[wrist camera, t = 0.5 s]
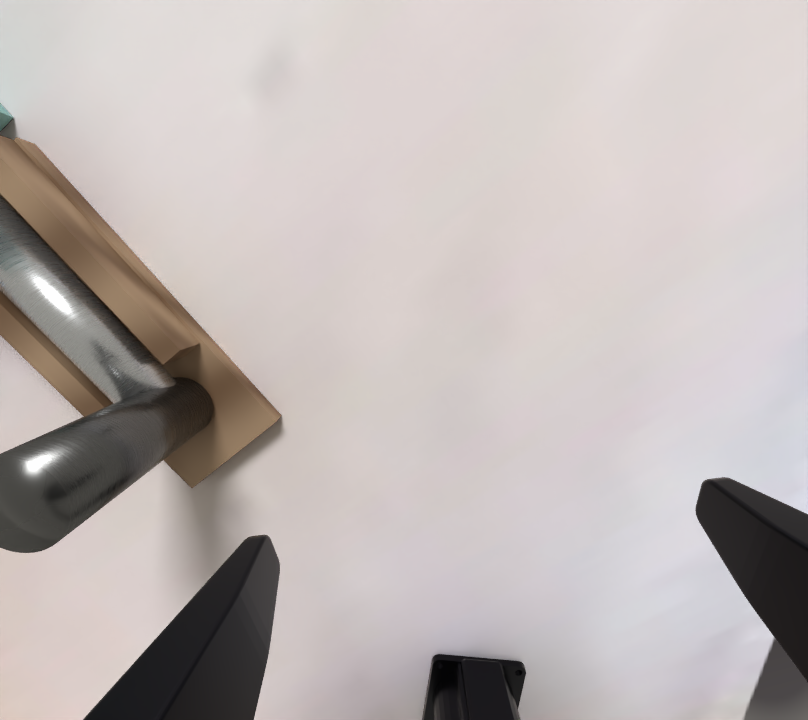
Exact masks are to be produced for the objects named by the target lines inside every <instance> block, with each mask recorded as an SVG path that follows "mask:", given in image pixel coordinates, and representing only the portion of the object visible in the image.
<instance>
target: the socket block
mask: <svg viewBox="0 0 808 720" xmlns="http://www.w3.org/2000/svg"><path fill="white" fill-rule="evenodd" d="M12 118H13V117H12V115H11V114H10V113H9V112H8V111H7V110H6V109H5V108H4V107H3V106H2V104H1V103H0V131H1V130H2V129H3V128H4V127H5V126H6V125H7V124H8V123H9V121H10V120H11V119H12Z"/></svg>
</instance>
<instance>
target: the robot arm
mask: <svg viewBox="0 0 808 720" xmlns="http://www.w3.org/2000/svg"><path fill="white" fill-rule="evenodd" d="M696 515H697V518H698V520H699V522H700V524H701V526H702V527H703V529H704V531H705V532H706V534H707V535H708V537H709V539H710V540H711V542H712V544H713V545H714V547H715V549H716V550H717V552H718V554H719V555H720V557H721V558H722V560H723V562H724V563H725V565H726V567H727V568H728V570H729V572H730V573H731V575H732V576H733V578H734V580H735V581H736V583H737V585H738V586H739V588H740V589H741V591H742V592H743V594H744V595H745V597H746V598H747V600H748V601H749V603H750V604H751V605H752V607H753V608H754V610H755V611H756V612H757V614H758V615H759V617H760V618H761V619H762V621H763V622H764V623H765V625H766V626H767V627H768V629H769V630H770V632H771V633H772V634H773V636H774V637H775V638H776V640H777V641H778V642H779V644H780V645H781V646H782V648H783V649H784V651H785V652H786V653H787V655H788V656H789V657H790V659H791V660H792V662H793V663H794V664H795V665H796V667H797V668H798V670H799V671H800V672H801V674H802V675H803V676H804V678H805V679H806V681H807V682H808V514H806V513H804V512H802V511H799V510H797V509H795V508H793V507H791V506H789V505H786V504H784V503H782V502H780V501H778V500H776V499H773V498H771V497H769V496H767V495H765V494H763V493H761V492H758V491H756V490H754V489H752V488H750V487H748V486H745V485H743V484H741V483H739V482H737V481H735V480H732V479H730V478H725V477H722V478H713V479H707V480H705V481H704V482H703V483H702V485H701V489H700V493H699V496H698V500H697V504H696ZM279 574H280V564H279V559H278V557H277V554H276V552H275V549H274V547H273V544H272V542H271V539H270V537H269V536H267V535H258V536H251V537H248V538H247V539H245V540H244V541H243V542H242V544H241V545H240V546H239V547H238V548H237V549H236V550H235V551H234V552H233V554H232V555H231V556H230V557H229V558H228V559H227V560H226V561H225V562H224V564H223V565H222V566H221V567H220V568H219V569H218V570H217V571H216V572H215V574H214V575H213V576H212V577H211V578H210V579H209V580H208V581H207V582H206V584H205V585H204V586H203V587H202V588H201V589H200V590H199V591H198V592H197V594H196V595H195V596H194V597H193V598H192V599H191V600H190V601H189V602H188V604H187V605H186V606H185V607H184V608H183V609H182V610H181V611H180V612H179V614H178V615H177V616H176V617H175V618H174V619H173V620H172V621H171V622H170V624H169V625H168V626H167V627H166V628H165V629H164V630H163V631H162V632H161V634H160V635H159V636H158V637H157V638H156V639H155V640H154V641H153V642H152V644H151V645H150V646H149V647H148V648H147V649H146V650H145V651H144V652H143V654H142V655H141V656H140V657H139V658H138V659H137V660H136V661H135V662H134V664H133V665H132V666H131V667H130V668H129V669H128V670H127V671H126V672H125V674H124V675H123V676H122V677H121V678H120V679H119V680H118V681H117V682H116V684H115V685H114V686H113V687H112V688H111V689H110V690H109V691H108V692H107V694H106V695H105V696H104V697H103V698H102V699H101V700H100V701H99V702H98V704H97V705H96V706H95V707H94V708H93V709H92V710H91V711H90V712H89V714H88V715H87V716H86V717H85V718H84V719H83V720H254V716H255V711H256V707H257V703H258V698H259V694H260V690H261V685H262V681H263V677H264V673H265V668H266V663H267V659H268V654H269V648H270V641H271V634H272V626H273V619H274V611H275V604H276V596H277V589H278V581H279ZM525 675H526V670H525V667H524V665H523V663H522V662H519V661H509V660H498V659H487V658H476V657H465V656H454V655H442V654H437V655H435V656H434V657H433V658H432V663H431V669H430V675H429V681H428V688H427V694H426V700H425V706H424V712H423V718H422V720H520V717H519V713H518V706H519V701H520V697H521V693H522V688H523V684H524V679H525Z"/></svg>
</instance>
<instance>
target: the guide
mask: <svg viewBox="0 0 808 720" xmlns="http://www.w3.org/2000/svg"><path fill="white" fill-rule="evenodd" d="M0 196H1V197H2V198H3V199H4V200H5V201H6V202H7V203H8V204H9V205H10V207H11V208H12V209H13V210H14V211H15V212H16V213H17V214H18V215H19V216H20V217H21V218H22V219H23V220H24V221H25V222H26V223H27V224H28V225H29V227H30V228H31V229H32V230H33V231H34V232H35V233H36V234H37V235H38V236H39V237H40V238H41V239H42V240H43V241H44V242H45V243H46V244H47V245H48V247H49V248H50V249H51V250H52V251H53V252H54V253H55V254H56V255H57V256H58V257H59V258H60V259H61V260H62V261H63V262H64V263H65V264H66V265H67V267H68V268H69V269H70V270H71V271H72V272H73V273H74V274H75V275H76V276H77V277H78V278H79V279H80V280H81V281H82V282H83V283H84V284H85V285H86V286H87V288H88V289H89V290H90V291H91V292H92V293H93V294H94V295H95V296H96V297H97V298H98V299H99V300H100V301H101V302H102V303H103V304H104V305H105V306H106V308H107V309H108V310H109V311H110V312H111V313H112V314H113V315H114V316H115V317H116V318H117V319H118V320H119V321H120V322H121V323H122V324H123V325H124V326H125V328H126V329H127V330H128V331H129V332H130V333H131V334H132V335H133V336H134V337H135V338H136V339H137V340H138V341H139V342H140V343H141V344H142V345H143V346H144V348H145V349H146V350H147V351H148V352H149V353H150V354H151V355H152V356H153V357H154V358H155V359H156V360H157V361H158V362H159V363H160V364H161V365H162V366H163V368H164V369H165V370H166V371H167V372H168V373H169V374H170V375H171V376H172V377H173V378H174V377H184V378H189V379H192V380H194V381H196V382H197V383H199V384H200V385H202V386H203V387H204V388H205V389H206V391H207V392H208V393H209V395H210V397H211V400H212V403H213V415H212V418H211V420H210V422H209V424H208V425H207V426H206V427H205V428H204V429H203V430H201V431H200V432H199V433H198V434H196V435H195V436H194V437H192V438H191V439H190V440H189V441H187V442H186V443H185V444H183V445H182V446H181V447H179V448H178V449H177V450H176V451H174V452H173V453H172V454H170V455H169V456H168V457H167V458H165V459H164V461H165V462H166V463H167V464H168V465H169V466H170V467H171V468H172V469H173V470H174V471H175V472H176V473H177V474H178V475H179V476H180V477H181V478H182V479H183V480H184V481H185V482H186V483H187V484H188V485H189V486H190V487H191V488H193V487H194V486H196V485H197V484H198V483H199V482H201V481H202V480H203V479H204V478H206V477H207V476H208V475H209V474H211V473H212V472H213V471H215V470H216V469H217V468H218V467H220V466H221V465H222V464H223V463H225V462H226V461H227V460H228V459H230V458H231V457H232V456H234V455H235V454H236V453H237V452H239V451H240V450H241V449H242V448H244V447H245V446H246V445H247V444H249V443H250V442H251V441H253V440H254V439H255V438H256V437H258V436H259V435H260V434H261V433H263V432H264V431H265V430H266V429H268V428H269V427H270V426H272V425H273V424H274V423H275V422H277V420H278V419H279V418H280V417H281V414H280V413H279V412H278V411H277V410H276V409H275V408H274V407H273V406H272V405H271V403H270V402H269V401H268V400H267V399H266V398H265V397H264V396H263V395H262V394H261V392H260V391H259V390H258V389H257V388H256V387H255V386H254V385H253V384H252V383H251V381H250V380H249V379H248V378H247V377H246V376H245V375H244V374H243V373H242V372H241V370H240V369H239V368H238V367H237V366H236V365H235V364H234V363H233V362H232V361H231V359H230V358H229V357H228V356H227V355H226V354H225V353H224V352H223V351H222V350H221V348H220V347H219V346H218V345H217V344H216V343H215V342H214V341H213V340H212V338H211V337H210V336H209V335H208V334H207V333H206V332H205V331H204V330H203V329H202V327H201V326H200V325H199V324H198V323H197V322H196V321H195V320H194V319H193V318H192V316H191V315H190V314H189V313H188V312H187V311H186V310H185V309H184V308H183V307H182V305H181V304H180V303H179V302H178V301H177V300H176V299H175V298H174V297H173V296H172V294H171V293H170V292H169V291H168V290H167V289H166V288H165V287H164V286H163V285H162V283H161V282H160V281H159V280H158V279H157V278H156V277H155V276H154V275H153V274H152V272H151V271H150V270H149V269H148V268H147V267H146V266H145V265H144V264H143V262H142V261H141V260H140V259H139V258H138V257H137V256H136V255H135V254H134V253H133V251H132V250H131V249H130V248H129V247H128V246H127V245H126V244H125V243H124V242H123V240H122V239H121V238H120V237H119V236H118V235H117V234H116V233H115V232H114V231H113V229H112V228H111V227H110V226H109V225H108V224H107V223H106V222H105V221H104V220H103V218H102V217H101V216H100V215H99V214H98V213H97V212H96V211H95V210H94V209H93V207H92V206H91V205H90V204H89V203H88V202H87V201H86V200H85V199H84V198H83V196H82V195H81V194H80V193H79V192H78V191H77V190H76V189H75V188H74V186H73V185H72V184H71V183H70V182H69V181H68V180H67V179H66V178H65V177H64V175H63V174H62V173H61V172H60V171H59V170H58V169H57V168H56V167H55V166H54V164H53V163H52V162H51V161H50V160H49V159H48V158H47V157H46V156H45V155H44V153H43V152H42V151H41V150H40V149H39V148H38V147H37V146H36V145H35V144H34V143H31V142H28V141H25V140H22V139H20V138H17V137H16V138H15V139H14V140H12V139H9V138H6V137H3V136H0ZM0 335H1V336H2V337H3V338H4V339H5V340H6V341H7V342H8V343H9V344H10V345H11V346H12V347H13V348H14V349H15V350H16V351H17V352H18V353H19V354H20V355H21V356H22V357H23V358H24V359H26V360H27V361H28V362H29V363H30V364H31V365H32V366H33V367H34V368H35V369H36V370H37V371H38V372H39V373H40V374H41V375H42V376H43V377H44V378H45V379H46V380H47V381H48V382H49V383H50V384H51V385H52V386H53V387H54V388H55V389H56V390H57V391H58V392H59V393H60V394H61V395H62V396H63V397H64V398H65V399H66V400H68V401H69V402H70V403H71V404H72V405H73V406H74V407H75V408H76V409H77V410H78V411H79V412H80V413H81V414H82V415H83V416H87V415H89V414H91V413H93V412H96V411H98V410H100V409H102V408H105V407H107V406H109V405H111V404H113V403H112V402H111V401H110V400H109V399H108V398H107V397H106V396H105V395H104V394H103V393H102V392H101V391H100V390H99V389H98V388H97V387H96V386H95V385H94V384H93V383H92V382H91V381H90V380H89V379H88V378H87V377H86V376H85V375H84V374H83V373H82V372H81V371H80V370H79V369H78V368H77V367H76V366H75V364H74V363H73V362H72V361H71V360H70V359H69V358H68V357H67V356H66V355H65V354H64V353H63V352H62V351H61V350H60V349H59V348H58V347H57V346H56V345H55V344H54V343H53V342H52V341H51V340H50V339H49V338H48V337H47V336H46V335H45V334H44V333H43V332H42V331H41V330H40V329H39V328H38V327H37V326H36V325H35V324H34V323H33V322H32V321H31V320H30V319H29V318H28V317H27V316H26V315H25V314H24V313H23V312H22V311H21V310H20V309H19V308H18V307H17V306H16V305H15V304H14V303H13V302H12V301H11V300H10V299H9V298H8V297H7V296H6V295H5V294H4V293H3V292H2V291H1V290H0Z"/></svg>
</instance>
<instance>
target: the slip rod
mask: <svg viewBox="0 0 808 720" xmlns="http://www.w3.org/2000/svg"><path fill="white" fill-rule="evenodd" d="M0 290H1V291H2V292H3V293H4V294H5V295H6V296H7V297H8V298H9V299H10V300H11V301H12V302H13V303H14V304H15V305H16V306H17V307H18V308H19V309H20V310H21V311H22V312H23V313H24V314H25V315H26V316H27V317H28V318H29V319H30V320H31V321H32V322H33V323H34V324H35V325H36V326H37V327H38V328H39V329H40V330H41V331H42V332H43V333H44V334H45V335H46V336H47V337H48V338H49V339H50V340H51V341H52V342H53V343H54V344H55V345H56V346H57V347H58V348H59V349H60V350H61V351H62V352H63V353H64V354H65V355H66V356H67V357H68V358H69V359H70V360H71V361H72V362H73V363H74V364H75V366H76V367H77V368H78V369H79V370H80V371H81V372H82V373H83V374H84V375H85V376H86V377H87V378H88V379H89V380H90V381H91V382H92V383H93V384H94V385H95V386H96V387H97V388H98V389H99V390H100V391H101V392H102V393H103V394H104V395H105V396H106V397H107V398H108V399H109V400H110V401H111V402H112V403H113V404H111V405H109V406H107V407H105V408H102V409H100V410H98V411H96V412H93V413H91V414H89V415H87V416H84V417H82V418H80V419H78V420H76V421H73V422H71V423H69V424H67V425H64V426H62V427H60V428H58V429H55V430H53V431H51V432H49V433H46V434H44V435H42V436H40V437H37V438H35V439H33V440H31V441H28V442H26V443H24V444H22V445H19V446H17V447H15V448H13V449H10V450H8V451H6V452H4V453H1V454H0V548H3V549H6V550H9V551H13V552H20V553H32V552H38V551H42V550H45V549H47V548H49V547H51V546H53V545H54V544H56V543H57V542H58V541H60V540H61V539H62V538H64V537H65V536H66V535H67V534H69V533H70V532H71V531H73V530H74V529H75V528H76V527H78V526H79V525H80V524H82V523H83V522H84V521H85V520H87V519H88V518H89V517H91V516H92V515H93V514H94V513H96V512H97V511H98V510H100V509H101V508H102V507H103V506H105V505H106V504H107V503H109V502H110V501H111V500H113V499H114V498H115V497H116V496H118V495H119V494H120V493H122V492H123V491H124V490H125V489H127V488H128V487H129V486H131V485H132V484H133V483H134V482H136V481H137V480H138V479H140V478H141V477H142V476H143V475H145V474H146V473H147V472H149V471H150V470H151V469H152V468H154V467H155V466H156V465H158V464H159V463H160V462H161V461H163V460H164V459H165V458H167V457H168V456H169V455H170V454H172V453H173V452H174V451H176V450H177V449H178V448H179V447H181V446H182V445H183V444H185V443H186V442H187V441H189V440H190V439H191V438H192V437H194V436H195V435H196V434H198V433H199V432H200V431H201V430H203V429H204V428H205V427H206V426H207V425H208V424H209V422H210V420H211V418H212V415H213V403H212V400H211V397H210V395H209V393H208V392H207V391H206V389H205V388H204V387H203V386H202V385H200V384H199V383H197V382H196V381H194V380H192V379H189V378H184V377H174V378H173V377H172V376H171V375H170V374H169V373H168V372H167V371H166V370H165V369H164V368H163V366H162V365H161V364H160V363H159V362H158V361H157V360H156V359H155V358H154V357H153V356H152V355H151V354H150V353H149V352H148V351H147V350H146V349H145V348H144V346H143V345H142V344H141V343H140V342H139V341H138V340H137V339H136V338H135V337H134V336H133V335H132V334H131V333H130V332H129V331H128V330H127V329H126V328H125V326H124V325H123V324H122V323H121V322H120V321H119V320H118V319H117V318H116V317H115V316H114V315H113V314H112V313H111V312H110V311H109V310H108V309H107V308H106V306H105V305H104V304H103V303H102V302H101V301H100V300H99V299H98V298H97V297H96V296H95V295H94V294H93V293H92V292H91V291H90V290H89V289H88V288H87V286H86V285H85V284H84V283H83V282H82V281H81V280H80V279H79V278H78V277H77V276H76V275H75V274H74V273H73V272H72V271H71V270H70V269H69V268H68V267H67V265H66V264H65V263H64V262H63V261H62V260H61V259H60V258H59V257H58V256H57V255H56V254H55V253H54V252H53V251H52V250H51V249H50V248H49V247H48V245H47V244H46V243H45V242H44V241H43V240H42V239H41V238H40V237H39V236H38V235H37V234H36V233H35V232H34V231H33V230H32V229H31V228H30V227H29V225H28V224H27V223H26V222H25V221H24V220H23V219H22V218H21V217H20V216H19V215H18V214H17V213H16V212H15V211H14V210H13V209H12V208H11V207H10V205H9V204H8V203H7V202H6V201H5V200H4V199H3V198H2V197H1V196H0Z"/></svg>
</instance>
